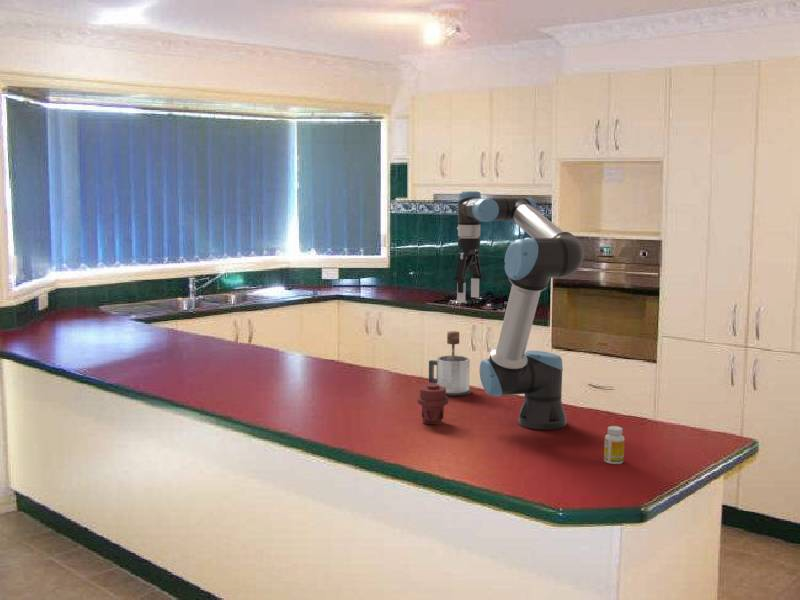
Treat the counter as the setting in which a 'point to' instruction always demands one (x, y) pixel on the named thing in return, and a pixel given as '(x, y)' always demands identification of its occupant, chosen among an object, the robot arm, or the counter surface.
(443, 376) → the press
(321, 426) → the counter surface
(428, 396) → the mechanical component
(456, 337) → the plunger
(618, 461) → the supplement bottle
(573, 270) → the robot arm
